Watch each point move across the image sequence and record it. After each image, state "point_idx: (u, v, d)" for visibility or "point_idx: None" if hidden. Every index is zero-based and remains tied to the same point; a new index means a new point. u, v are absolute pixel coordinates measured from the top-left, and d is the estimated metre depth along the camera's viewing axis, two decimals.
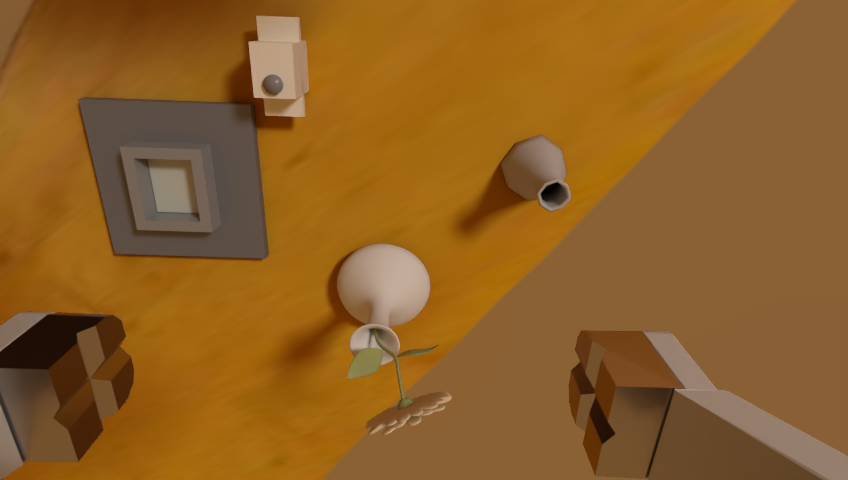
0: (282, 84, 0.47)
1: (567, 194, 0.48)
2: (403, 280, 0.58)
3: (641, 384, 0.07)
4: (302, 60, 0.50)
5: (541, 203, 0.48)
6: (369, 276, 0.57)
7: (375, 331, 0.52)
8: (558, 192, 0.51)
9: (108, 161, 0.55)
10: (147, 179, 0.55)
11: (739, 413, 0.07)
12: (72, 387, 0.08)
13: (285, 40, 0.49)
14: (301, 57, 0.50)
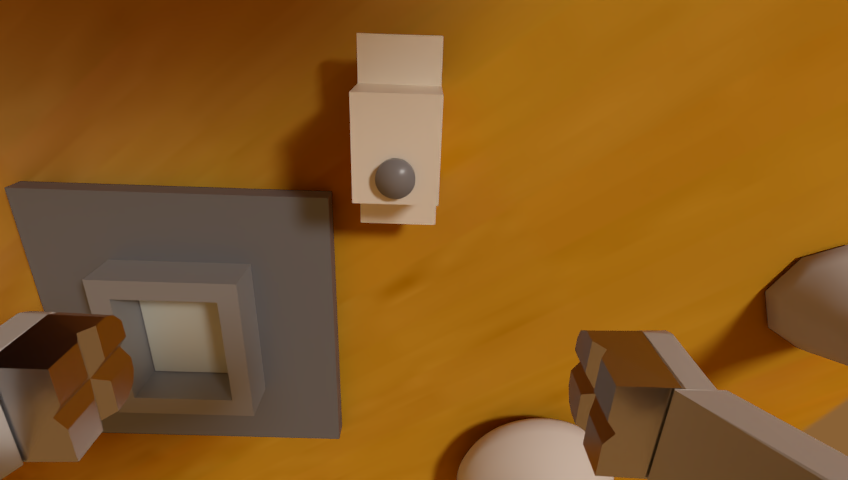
0: (415, 178, 0.23)
1: None
2: None
3: (641, 384, 0.07)
4: None
5: None
6: None
7: None
8: None
9: (66, 291, 0.31)
10: (136, 324, 0.31)
11: (739, 412, 0.07)
12: (72, 387, 0.08)
13: (413, 82, 0.24)
14: None
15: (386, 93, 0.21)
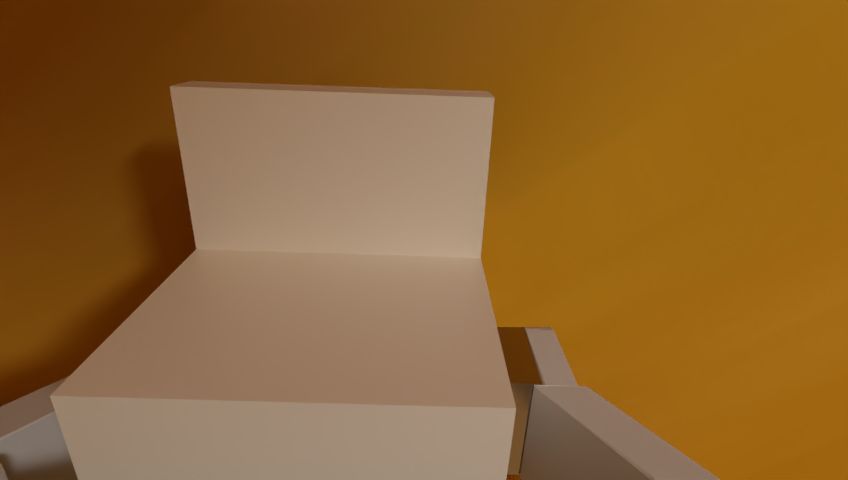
0: None
1: None
2: None
3: None
4: None
5: None
6: None
7: None
8: None
9: None
10: None
11: (589, 409, 0.07)
12: None
13: (385, 249, 0.07)
14: None
15: (237, 399, 0.04)
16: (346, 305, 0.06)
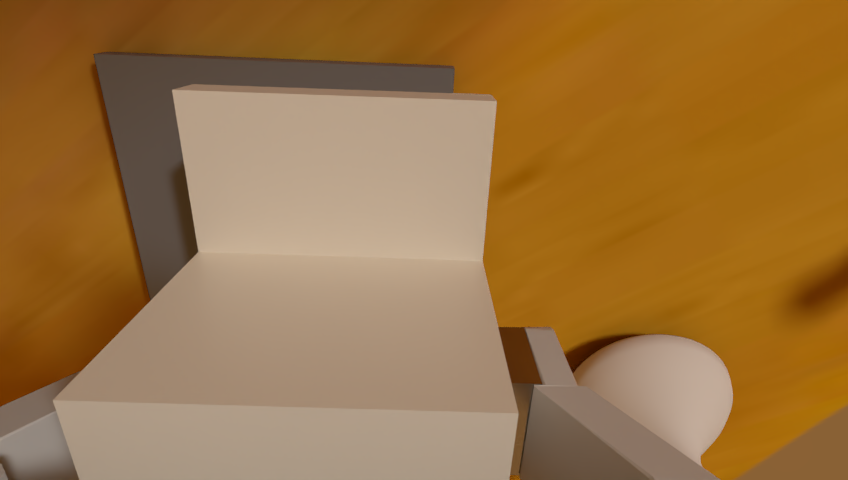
0: None
1: None
2: (709, 407, 0.30)
3: None
4: None
5: None
6: (650, 401, 0.30)
7: None
8: None
9: (154, 181, 0.28)
10: None
11: (589, 409, 0.07)
12: None
13: (386, 252, 0.07)
14: None
15: (239, 404, 0.04)
16: (348, 309, 0.06)
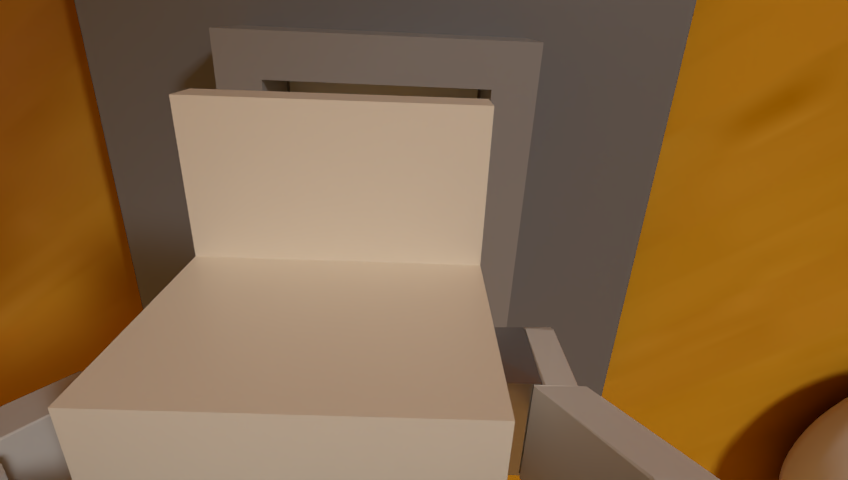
0: None
1: None
2: None
3: None
4: None
5: None
6: None
7: None
8: None
9: (152, 100, 0.16)
10: None
11: (589, 409, 0.07)
12: None
13: (384, 257, 0.07)
14: None
15: (235, 412, 0.04)
16: (345, 314, 0.06)
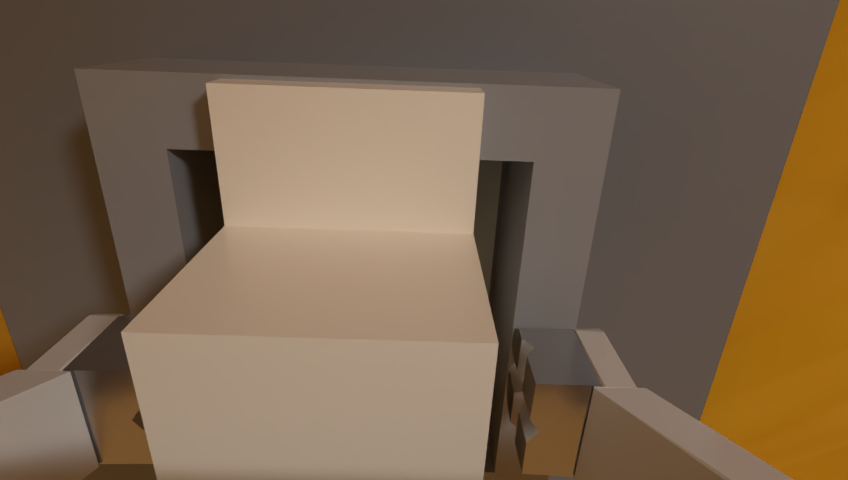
0: None
1: None
2: None
3: (562, 382, 0.07)
4: None
5: None
6: None
7: None
8: None
9: (32, 165, 0.11)
10: None
11: (653, 411, 0.07)
12: None
13: (389, 226, 0.08)
14: None
15: (272, 336, 0.05)
16: (357, 269, 0.07)
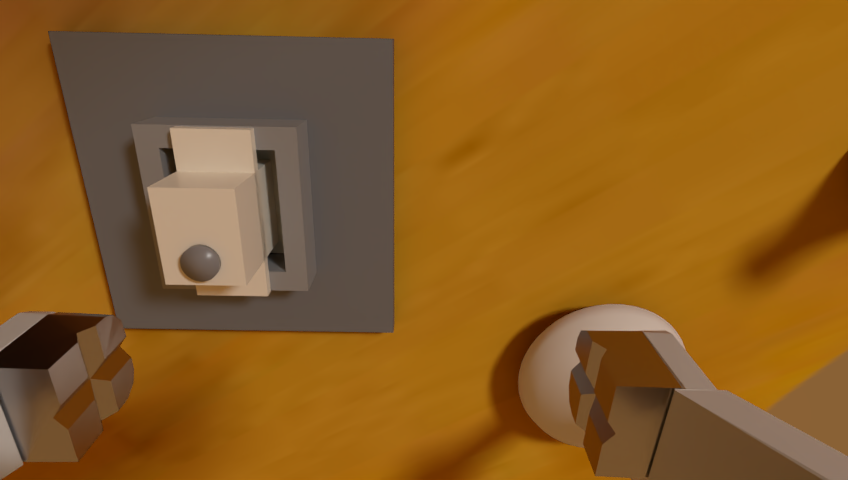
0: (219, 262, 0.24)
1: None
2: None
3: (641, 384, 0.07)
4: (262, 200, 0.27)
5: None
6: None
7: None
8: None
9: (108, 156, 0.29)
10: None
11: (739, 412, 0.07)
12: (72, 387, 0.08)
13: (228, 170, 0.26)
14: (260, 197, 0.27)
15: (182, 188, 0.23)
16: (211, 179, 0.25)
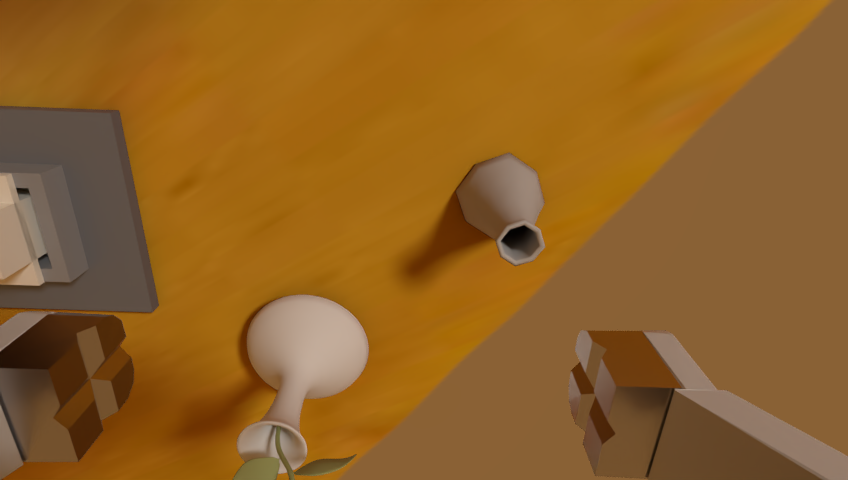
0: None
1: (539, 242, 0.34)
2: (327, 344, 0.44)
3: (641, 384, 0.07)
4: (28, 220, 0.40)
5: (502, 254, 0.34)
6: (282, 339, 0.43)
7: None
8: (529, 235, 0.36)
9: None
10: None
11: (739, 412, 0.07)
12: (72, 387, 0.08)
13: None
14: (23, 219, 0.39)
15: None
16: None
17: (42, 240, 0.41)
